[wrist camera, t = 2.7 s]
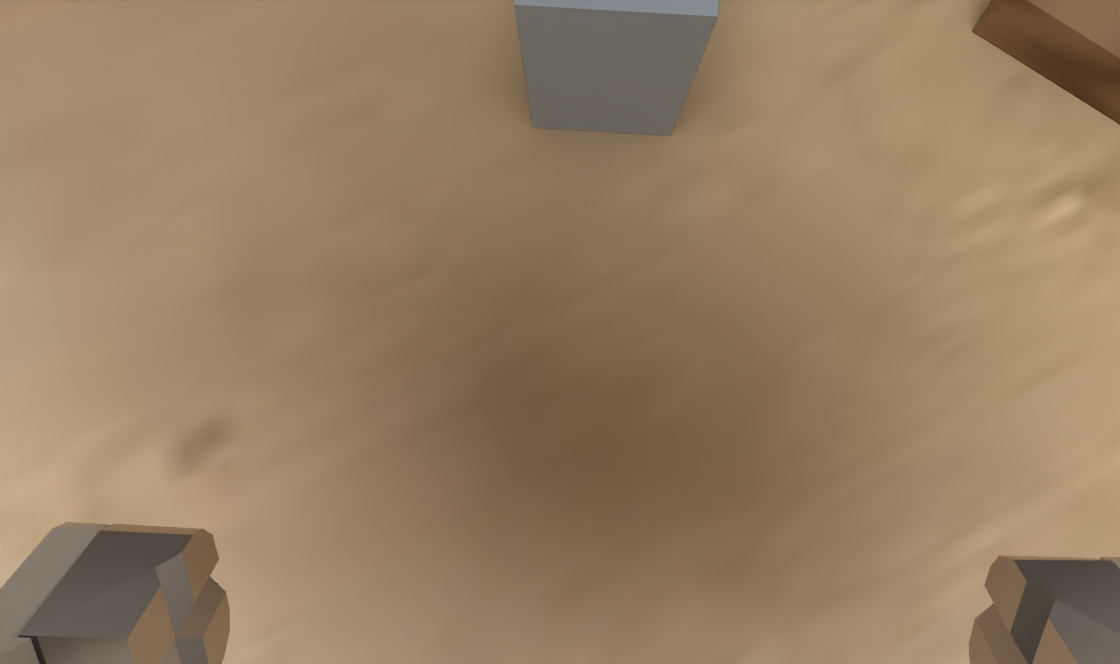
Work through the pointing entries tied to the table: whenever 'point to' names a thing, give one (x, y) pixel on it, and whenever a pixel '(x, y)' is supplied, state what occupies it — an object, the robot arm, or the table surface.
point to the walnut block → (1063, 44)
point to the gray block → (611, 61)
